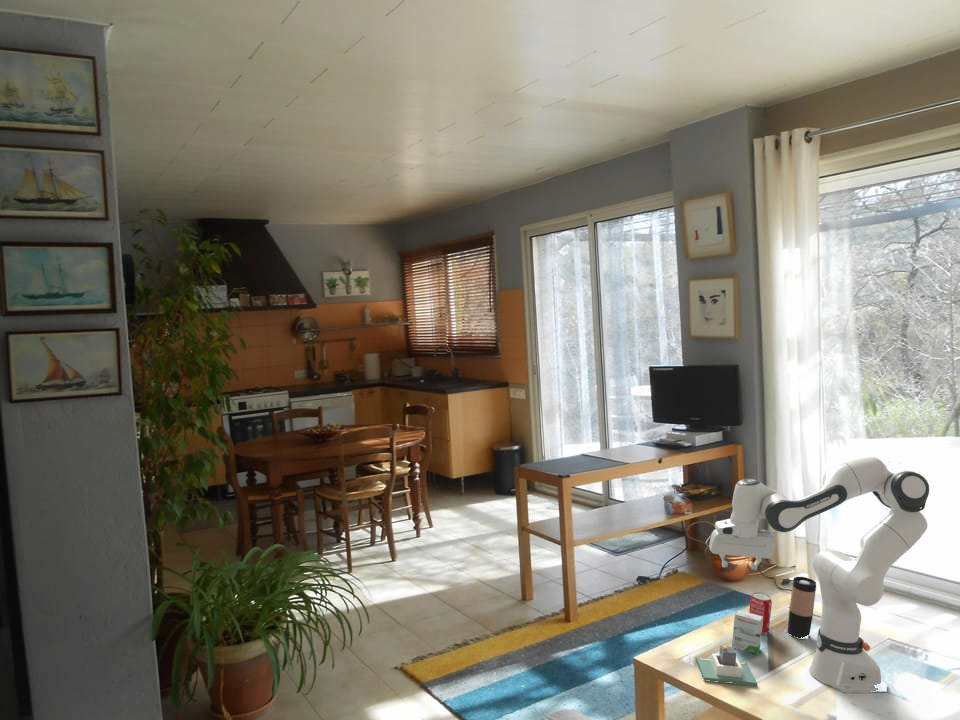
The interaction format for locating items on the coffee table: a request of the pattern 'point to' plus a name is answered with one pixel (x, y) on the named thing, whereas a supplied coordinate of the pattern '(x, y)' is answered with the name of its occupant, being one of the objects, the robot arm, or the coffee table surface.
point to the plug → (727, 655)
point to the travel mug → (801, 606)
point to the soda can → (761, 608)
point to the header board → (725, 671)
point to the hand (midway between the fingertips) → (739, 568)
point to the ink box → (747, 632)
